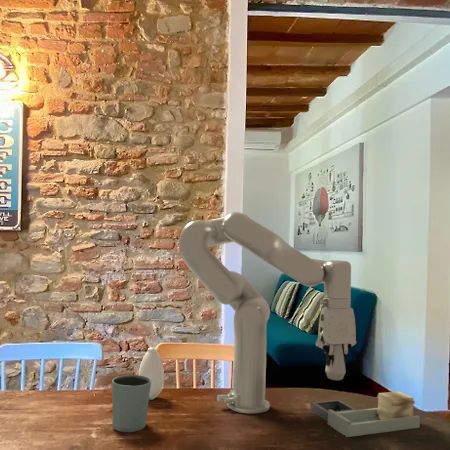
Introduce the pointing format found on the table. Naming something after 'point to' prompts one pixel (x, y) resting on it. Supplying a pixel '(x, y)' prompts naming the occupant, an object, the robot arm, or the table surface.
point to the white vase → (153, 371)
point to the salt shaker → (336, 364)
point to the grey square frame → (329, 407)
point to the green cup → (130, 402)
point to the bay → (368, 422)
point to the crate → (394, 405)
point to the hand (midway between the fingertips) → (335, 367)
